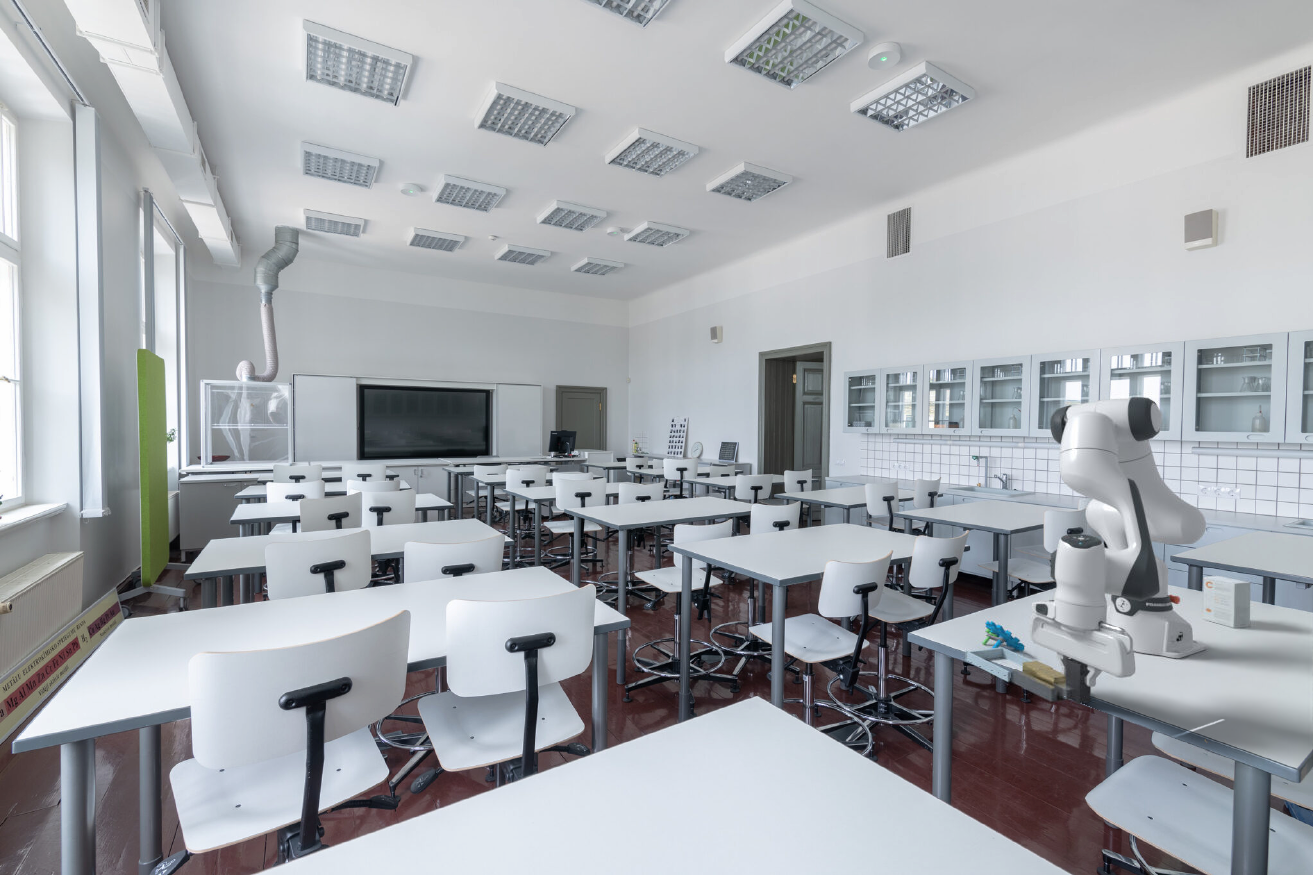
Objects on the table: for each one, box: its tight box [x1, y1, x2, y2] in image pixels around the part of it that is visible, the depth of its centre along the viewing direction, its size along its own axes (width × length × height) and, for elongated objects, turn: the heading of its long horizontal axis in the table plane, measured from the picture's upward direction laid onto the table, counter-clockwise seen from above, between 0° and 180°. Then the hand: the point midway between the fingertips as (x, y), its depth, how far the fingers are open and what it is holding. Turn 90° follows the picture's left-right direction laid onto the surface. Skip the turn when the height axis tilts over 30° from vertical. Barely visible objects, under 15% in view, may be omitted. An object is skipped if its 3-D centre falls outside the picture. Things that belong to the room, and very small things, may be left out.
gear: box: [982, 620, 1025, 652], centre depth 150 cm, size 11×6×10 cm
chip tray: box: [964, 646, 1033, 683], centre depth 138 cm, size 11×12×2 cm
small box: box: [1202, 575, 1251, 629], centre depth 172 cm, size 8×6×13 cm
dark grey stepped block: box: [1053, 658, 1092, 704], centre depth 122 cm, size 5×5×8 cm
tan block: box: [1022, 660, 1054, 678], centre depth 130 cm, size 4×4×4 cm
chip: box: [1036, 668, 1066, 686], centre depth 126 cm, size 4×4×4 cm
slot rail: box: [1010, 668, 1067, 703], centre depth 127 cm, size 10×10×3 cm
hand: (1078, 680), depth 121 cm, fingers closed on dark grey stepped block, 3 cm apart
